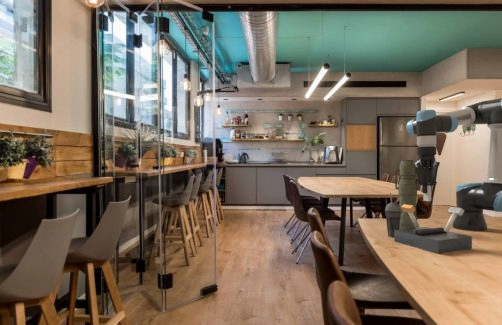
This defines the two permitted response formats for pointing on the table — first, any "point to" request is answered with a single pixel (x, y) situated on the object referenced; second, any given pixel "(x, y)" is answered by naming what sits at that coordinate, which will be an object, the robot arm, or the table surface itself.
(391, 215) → the beverage cup
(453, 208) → the white toy hammer
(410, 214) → the orange mallet
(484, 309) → the table surface
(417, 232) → the cord bundle
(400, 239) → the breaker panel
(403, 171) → the thermos
